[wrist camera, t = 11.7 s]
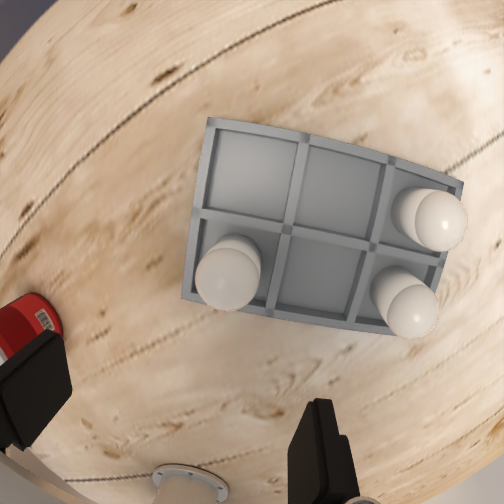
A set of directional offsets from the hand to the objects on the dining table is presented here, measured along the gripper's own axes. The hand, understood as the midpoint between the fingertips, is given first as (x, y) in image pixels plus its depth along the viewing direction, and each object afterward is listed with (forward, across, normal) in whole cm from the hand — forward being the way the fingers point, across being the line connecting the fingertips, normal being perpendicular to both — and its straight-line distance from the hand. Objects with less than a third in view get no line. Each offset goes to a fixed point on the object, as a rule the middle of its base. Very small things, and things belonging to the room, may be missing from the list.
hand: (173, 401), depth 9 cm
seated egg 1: (+18, -15, -8) cm, 24 cm away
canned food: (+18, +24, +13) cm, 33 cm away
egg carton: (+18, -8, -4) cm, 20 cm away
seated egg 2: (+18, -15, 0) cm, 23 cm away
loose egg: (+18, 0, 0) cm, 18 cm away
